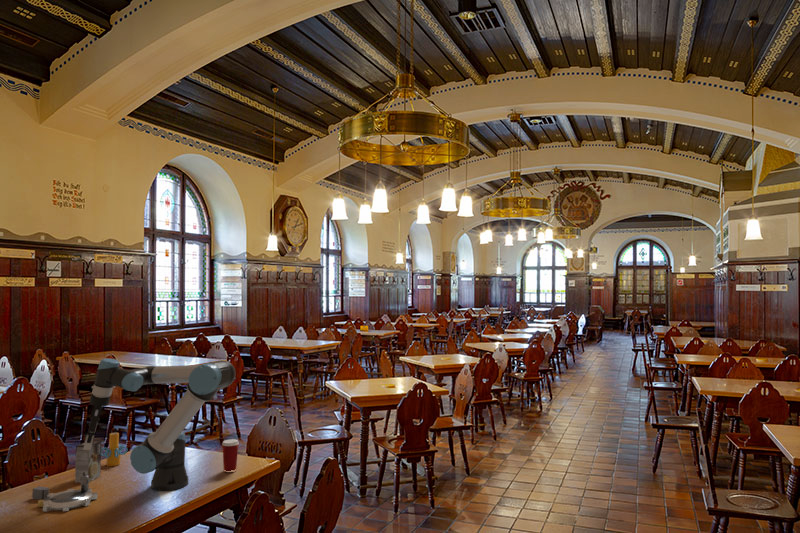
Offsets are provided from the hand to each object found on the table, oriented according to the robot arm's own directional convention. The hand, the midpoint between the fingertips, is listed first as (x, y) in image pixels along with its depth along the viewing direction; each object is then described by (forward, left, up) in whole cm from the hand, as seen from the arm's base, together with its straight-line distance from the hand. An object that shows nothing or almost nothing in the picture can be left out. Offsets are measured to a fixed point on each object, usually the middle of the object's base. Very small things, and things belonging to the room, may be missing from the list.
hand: (88, 443), depth 233 cm
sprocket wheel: (-5, +13, -20) cm, 24 cm away
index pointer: (+10, +13, -20) cm, 26 cm away
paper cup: (-42, -42, -20) cm, 62 cm away
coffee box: (+12, -11, -20) cm, 25 cm away
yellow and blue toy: (+17, -31, -20) cm, 41 cm away
